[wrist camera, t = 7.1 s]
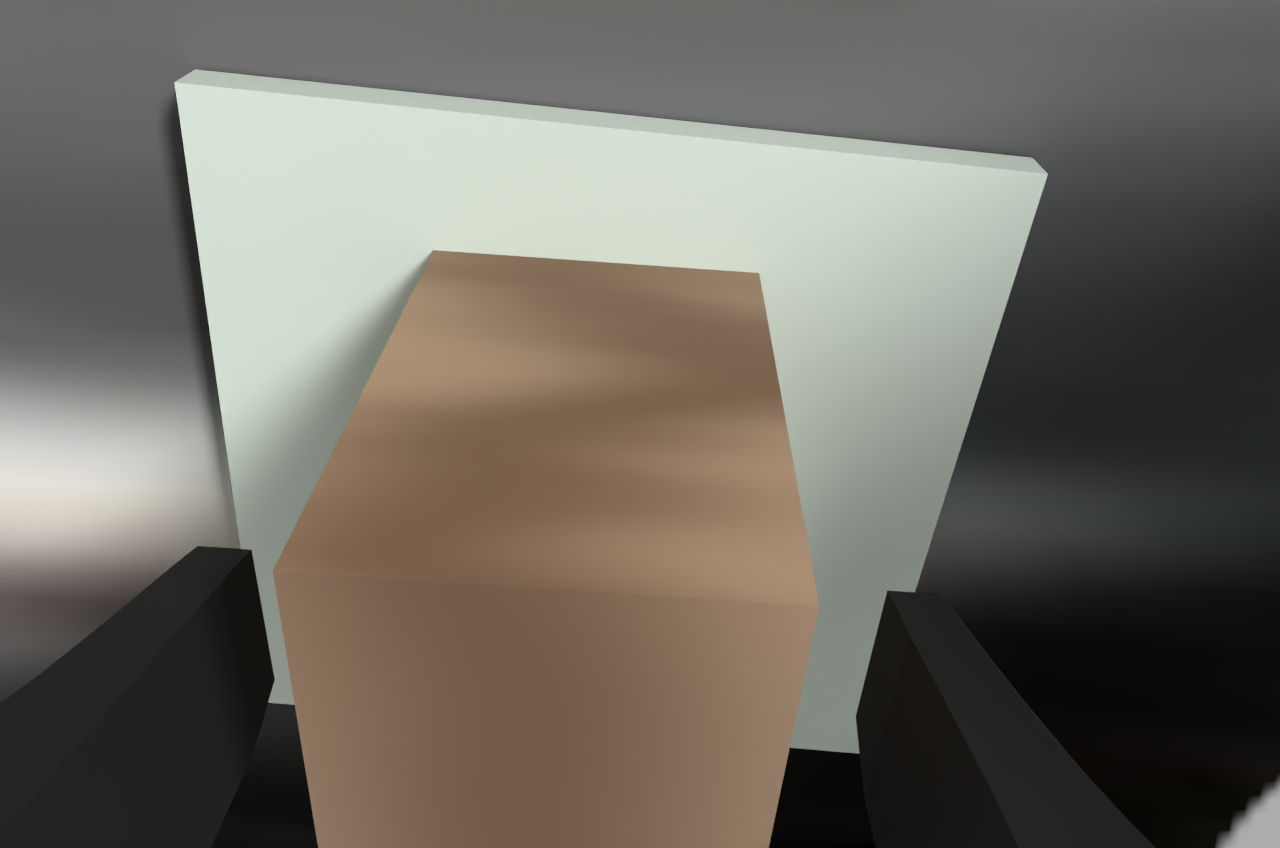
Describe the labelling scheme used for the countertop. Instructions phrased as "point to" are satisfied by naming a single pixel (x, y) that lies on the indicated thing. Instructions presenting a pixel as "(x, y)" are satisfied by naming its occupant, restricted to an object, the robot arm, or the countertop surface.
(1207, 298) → the countertop surface
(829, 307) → the sage tile
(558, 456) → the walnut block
